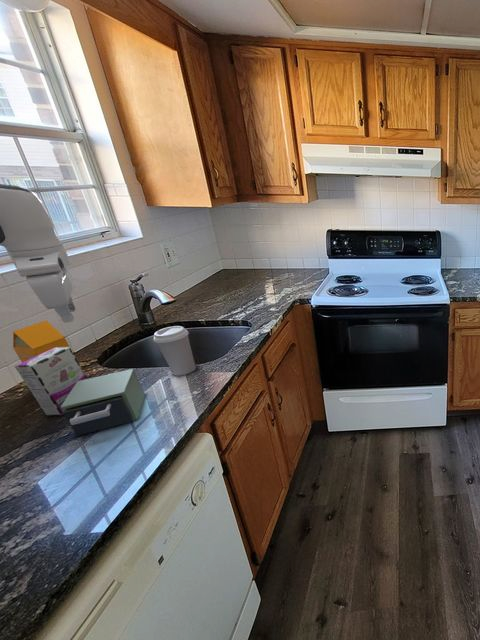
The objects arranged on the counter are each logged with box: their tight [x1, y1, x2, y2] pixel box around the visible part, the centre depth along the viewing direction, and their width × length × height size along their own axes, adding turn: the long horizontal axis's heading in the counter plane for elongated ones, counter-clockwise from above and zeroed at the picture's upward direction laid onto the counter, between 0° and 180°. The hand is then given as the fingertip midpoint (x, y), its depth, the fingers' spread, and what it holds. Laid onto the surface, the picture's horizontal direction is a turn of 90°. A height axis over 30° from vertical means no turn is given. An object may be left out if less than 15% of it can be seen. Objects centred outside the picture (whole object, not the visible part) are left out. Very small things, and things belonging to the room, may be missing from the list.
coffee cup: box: [152, 325, 197, 376], centre depth 121 cm, size 10×10×15 cm
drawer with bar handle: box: [63, 395, 133, 437], centre depth 97 cm, size 18×11×7 cm, turn 31°
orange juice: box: [12, 320, 76, 363], centre depth 116 cm, size 8×9×20 cm
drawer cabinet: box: [60, 368, 146, 427], centre depth 101 cm, size 15×13×9 cm
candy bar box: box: [14, 346, 88, 416], centre depth 104 cm, size 11×5×16 cm, turn 0°
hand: (70, 316), depth 89 cm, fingers open, 8 cm apart
